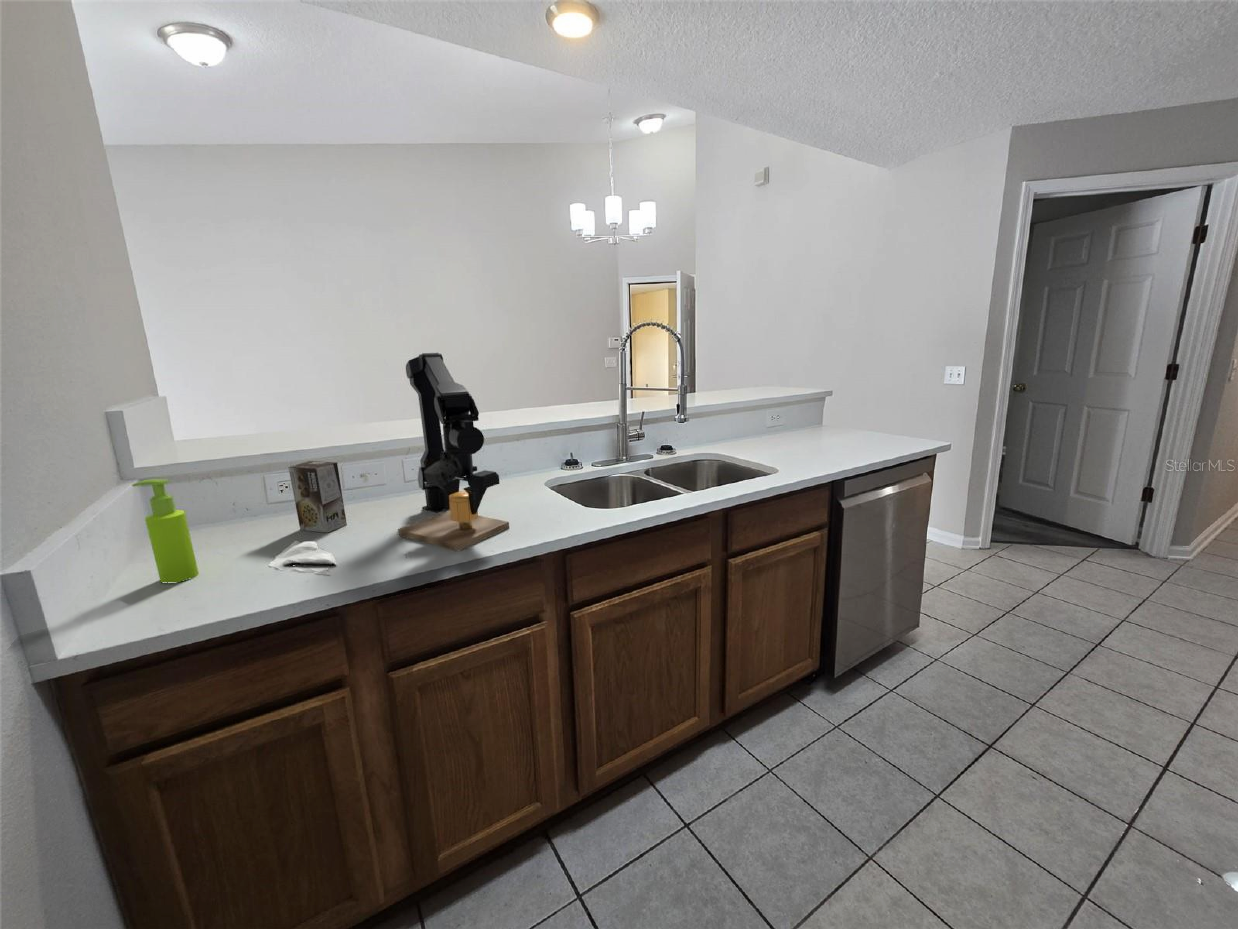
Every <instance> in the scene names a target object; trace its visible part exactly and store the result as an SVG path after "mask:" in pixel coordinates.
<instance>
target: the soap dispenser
mask: <svg viewBox="0 0 1238 929" xmlns="http://www.w3.org/2000/svg"><path fill="white" fill-rule="evenodd" d="M168 483H170V481H169V479H165V478H153V479H146V480H141V481H138V482H136V483H133V484H131V486H132V487H134V488H135V487H139V486H151V487H152V491H153V496H151V497H150V498H149V504H150V507H151V512H152V514H150V515H147V516H146V517H144V518H145V524H146V529H147V532H148V537H149V540H150V543H151V548H152V551H153V557H154V560H155V564H156V565H155V566H156V568H157V569H156V570H157V572H158V573H157V574H158V577H159V581H160V583H161V582H167V583H168V582H180V581H183V580H186V579H189V578H192V579H194V578H196V577H197V576H198V575H199V569H198V565H197V561H196V556H195V551H194V548H193V543H192V539H191V534H190V529H189V525H188V521H187V517H186V512H185V510H182V509H177V508H176V505H175V501H174V496H173V494H169V493H166V492H167V491H166V488H165V484H168ZM196 575H197V576H196ZM195 576H196V577H195ZM193 577H194V578H193ZM189 580H190V579H189ZM183 582H184V581H183ZM180 583H181V582H180Z"/></svg>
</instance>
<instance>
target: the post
mask: <svg viewBox="0 0 1238 929" xmlns="http://www.w3.org/2000/svg"><path fill="white" fill-rule="evenodd" d="M472 528H473V525H472V520H471V521H465V522H459V529H460V530H462V531H466V530H470V529H472Z"/></svg>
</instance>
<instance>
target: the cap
mask: <svg viewBox="0 0 1238 929" xmlns="http://www.w3.org/2000/svg"><path fill="white" fill-rule="evenodd" d="M449 506H450V508H449V510H450V515H451V521H456V522H465V521H471V520H474V519H476V518H478V516H479V510H478V511H477V513H476V514H474V515H473V514H472V512H471V508H470V501H469V495H468V493H467V492H466V491H465V490H462V491H460V490H459V492H455V493H452V494H450V495H449Z"/></svg>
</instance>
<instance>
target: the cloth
mask: <svg viewBox="0 0 1238 929" xmlns="http://www.w3.org/2000/svg"><path fill="white" fill-rule="evenodd" d="M331 555H332V556H331ZM275 558H276V559H275ZM317 564H318V566H314V565H317ZM322 564H326V565H325V566H322ZM332 564H334V565H335V566H337V565H338V563H337V562H336V559H335V557H334V556H333V553H331V552H328V551H325V550H323V549H322V548H319V547H318V545H317V542H316V541H314V540H313V541H311V540H310V541H305V540H304V541H303V542H300V541H298V540H295V541H293V542H292V543H291V544H290V545H289V546H288V547H286V548H284V549H283V551H282V552H281V553H279V554H278V555H276V556H275V557H274V559H273V560H272V561H271V562H270V563H269V564H268V565H269V566H268V568H274V569H275V568H276V570H279V569H280V571H289V572H295V573H296V572H297V573H305V574H314V575H325V576H331V574H329V571H328V570H329V566H328V565H332ZM293 565H296V566H293ZM319 565H321V566H319Z"/></svg>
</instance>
